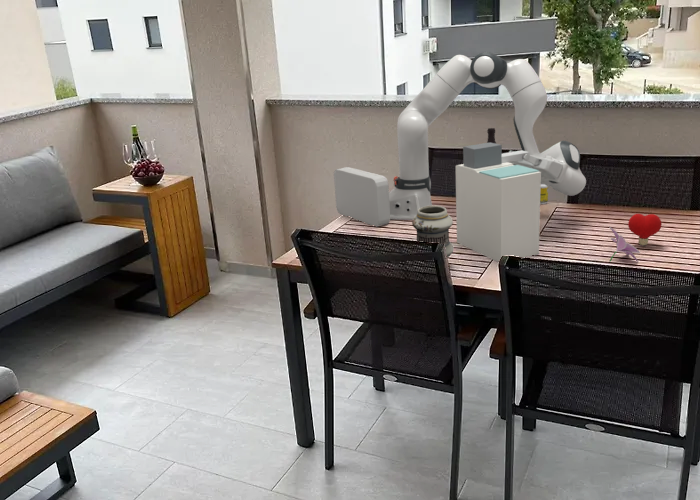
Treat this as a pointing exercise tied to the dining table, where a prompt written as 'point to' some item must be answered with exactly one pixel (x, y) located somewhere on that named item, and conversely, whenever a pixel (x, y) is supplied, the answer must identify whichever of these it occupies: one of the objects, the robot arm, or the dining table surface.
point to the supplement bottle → (544, 194)
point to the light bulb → (644, 226)
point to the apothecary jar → (434, 226)
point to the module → (488, 155)
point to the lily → (623, 245)
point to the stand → (498, 209)
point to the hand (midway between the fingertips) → (517, 154)
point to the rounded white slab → (362, 196)
